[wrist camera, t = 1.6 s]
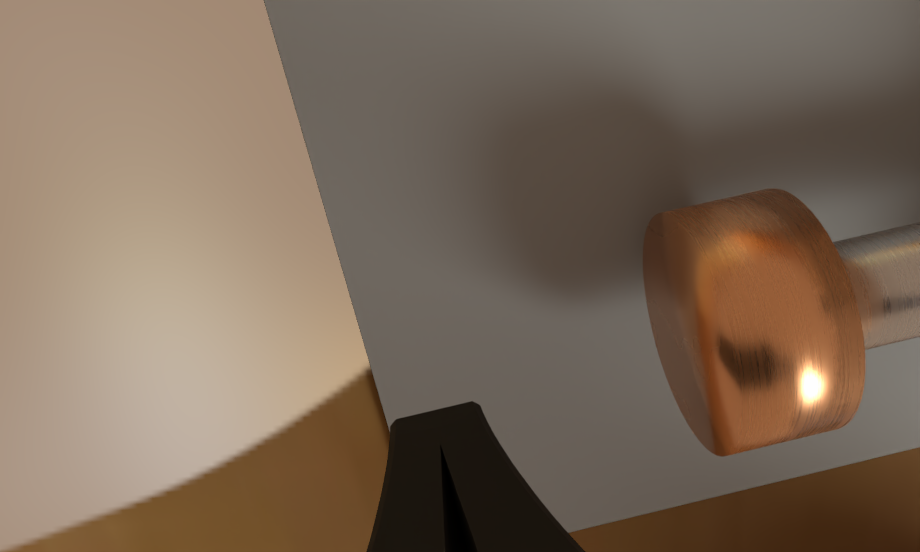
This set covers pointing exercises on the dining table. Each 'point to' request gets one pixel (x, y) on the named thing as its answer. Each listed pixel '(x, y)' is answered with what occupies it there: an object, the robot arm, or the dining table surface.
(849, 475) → the dining table surface
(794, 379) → the pin
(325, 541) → the dining table surface
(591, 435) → the mat
